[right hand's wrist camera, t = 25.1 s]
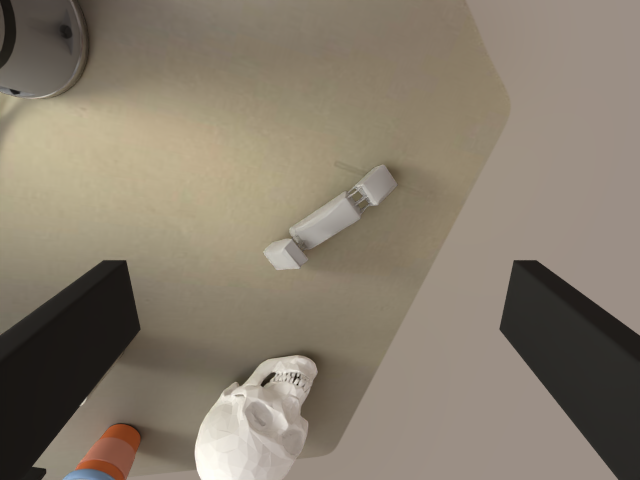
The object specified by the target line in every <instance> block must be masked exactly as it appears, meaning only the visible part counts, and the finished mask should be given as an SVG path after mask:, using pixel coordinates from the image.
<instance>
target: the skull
mask: <svg viewBox="0 0 640 480" xmlns="http://www.w3.org/2000/svg"><path fill="white" fill-rule="evenodd" d="M273 372H275V373H277V374H276V375H275V376H274V378H272V379H271V380H270V382H269V383H267V384H266V385H265V386H264V387H262V386H260V385H261V383H262V382H263V380H264V379H265V378H266V377H267V376H268V375H269V374H271V373H273ZM290 373H292V377H293V378H291V376H290ZM296 373H297V377H299V375H300V374H301V376H300V379H301V380H300V381H299V379H298V378H297V379H296V380H295V382H294V383H292V382H293V379H294V377H295V374H296ZM317 373H318V371H317V368H316V365H315V363H314V362H313V361H312V360H311V359H309V358H307V357H305V356H300V355H294V356H287V357H280V358H273V359H268V360H266V361H264V362H262V363H261V364H260V365H259V366H258V367H257V369H256V370H255V371H254V373H253V374H252V375H251V376H250V377H249V379H248V380H247V381H246V382H245V383H244V384H243V385H242V386H239V384H238V383H237V382H234V383H232V384H231V385H230V386H229V387H228V388H226V389H224V390H223V392H222V394H221V396H220V398H219V399H218V401H217V402H216V403H215V404H214V406H213V407H212V408H211V409H210V411H209V412H208V414H207V415H206V417H205V418H204V420H203V422H202V424H201V426H200V430H199V433H198V437H197V441H196V445H195V460H196V466H197V471H198V474H199V476H200V478H201V480H282V479H283V478H284V477H285V476H286V474H287V473H288V472H289V470H290V468H291V467H292V465H293V463H294V461H295V460H296V458H297V457H298V455H299V454H300V453H301V451H302V448H303V446H304V443H305V440H306V437H307V432H308V421H307V420H305V419H304V418H303V417H302V416H301V415H300V414H301V406H302V404H303V402H304V401H305V399H306V397H307V395H308V394H309V391H310V389H311V388H310V387H311V386H312V383H313V380H314V378H315V377H316V375H317ZM278 374H279V375H278ZM282 374H283V375H282ZM286 374H287V375H286ZM290 378H291V379H290ZM302 378H303V379H302ZM286 379H287V380H286ZM285 380H286V381H285ZM289 380H290V382H289ZM298 382H299V385H298V386H297V385H296V384H297V383H298Z"/></svg>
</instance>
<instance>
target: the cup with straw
mask: <svg viewBox="0 0 640 480" xmlns="http://www.w3.org/2000/svg"><path fill="white" fill-rule="evenodd" d="M140 441H141V437H140V435H139V433H138V431H137V430H135V429H134V428H133V427H131V426H128V425H125V424H116V425H113V426H111V427H109V428H108V429H107V431H106V432H105V433H104V434H103V436H102V437H101V438H100V439H99V440H98V441H97V442H96V443H95V444H94V445H93V446H92V448H91V449H90V450H89V451H88V453H87V454H86V455H85V457H84V458H83V459H82V460H81V462H80V463H79V464H78V465H77V467H76V469H75V471H73V472H71V473H69V474H68V475H67V476H66V477H65V478H64V479H63V480H126V479H127V476H128V474H129V471H130V469H131V466H132V464H133V462H134V459H135V454H136V451H137V449H138V447H139V444H140Z"/></svg>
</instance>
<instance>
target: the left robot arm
mask: <svg viewBox="0 0 640 480" xmlns="http://www.w3.org/2000/svg"><path fill="white" fill-rule="evenodd" d="M45 474H46V469H44V468H37V467H31V468H30V470H29V471H28V472H27V473H26V475H25V476H24V477H23V478H22V480H41V479H42V478H43V477H44V475H45Z"/></svg>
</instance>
